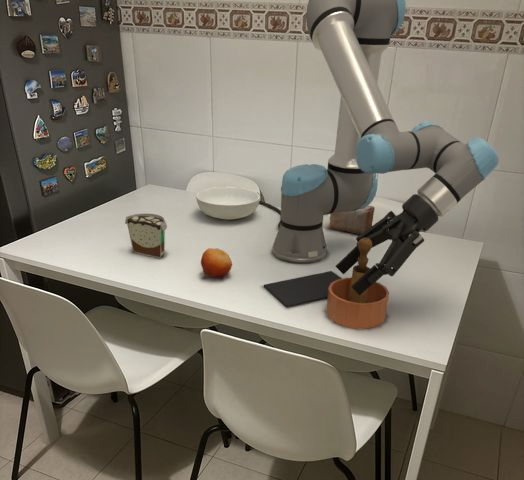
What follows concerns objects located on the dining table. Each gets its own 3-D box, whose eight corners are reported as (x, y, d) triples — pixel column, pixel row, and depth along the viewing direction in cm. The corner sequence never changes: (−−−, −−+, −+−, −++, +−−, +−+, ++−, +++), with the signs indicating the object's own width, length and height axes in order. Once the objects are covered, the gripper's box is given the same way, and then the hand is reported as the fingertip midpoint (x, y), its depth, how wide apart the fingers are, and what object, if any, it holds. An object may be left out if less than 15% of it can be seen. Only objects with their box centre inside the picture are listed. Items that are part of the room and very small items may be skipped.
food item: (324, 229, 164) (327, 198, 158) (334, 222, 170) (337, 191, 164) (364, 237, 158) (369, 206, 153) (374, 230, 164) (378, 199, 158)
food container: (177, 251, 146) (175, 217, 141) (165, 259, 142) (162, 224, 136) (141, 244, 150) (138, 210, 145) (128, 251, 146) (124, 216, 140)
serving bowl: (259, 227, 164) (259, 205, 160) (193, 225, 164) (192, 204, 160) (260, 206, 182) (260, 186, 178) (200, 204, 182) (199, 185, 178)
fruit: (194, 263, 136) (208, 238, 133) (220, 277, 139) (235, 253, 135) (193, 277, 129) (208, 251, 126) (220, 291, 132) (236, 266, 129)
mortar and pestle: (369, 322, 115) (381, 245, 105) (340, 319, 116) (349, 242, 106) (370, 308, 120) (381, 234, 110) (342, 305, 121) (351, 231, 112)
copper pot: (315, 306, 121) (317, 283, 117) (362, 296, 126) (365, 273, 122) (348, 333, 111) (351, 309, 107) (397, 320, 116) (401, 297, 113)
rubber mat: (263, 286, 129) (263, 284, 128) (331, 272, 136) (331, 270, 136) (286, 307, 120) (286, 305, 120) (357, 291, 128) (358, 289, 127)
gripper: (464, 236, 100) (376, 314, 106) (413, 201, 118) (340, 269, 124) (445, 210, 96) (354, 293, 102) (395, 178, 114) (321, 250, 120)
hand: (347, 280), depth 113 cm, fingers open, 10 cm apart
